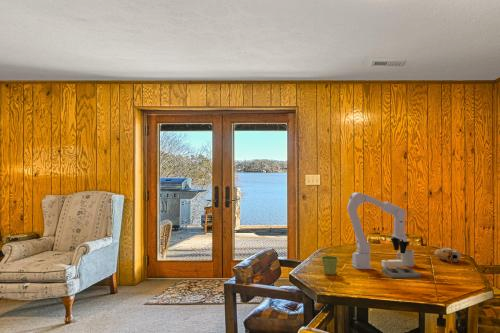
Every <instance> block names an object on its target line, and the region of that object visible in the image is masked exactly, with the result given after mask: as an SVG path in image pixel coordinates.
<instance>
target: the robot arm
mask: <svg viewBox="0 0 500 333" xmlns="http://www.w3.org/2000/svg"><path fill="white" fill-rule="evenodd" d="M391 202H392V201H384V202H383V201H380V200H378V199H377V198H374V197H373V196H371V195H368V194H364V193H362V192H358V191H355V192H353V193H351V195H350V196H349V201H348V204H347V207H346V208H347V209H346V210H347V213H348V215H349V219H350V222H351V225H352V228H353V231H354V234H355V240H356V242H355V243H356V244H355V246H356V247H357V249H356V251H355V252H353V253H352V264H351V265H352V267H353V268H354V269H356V270H373V269H374V268H373V267H372V266H371V265H370V264H371V252H370V251H371V245H370V243H369V242H368V240H367V238H366V236H365V233H364V229H363V226H362V223H361V220H360V217H359V215H358V211H357V210H358V208H359V207H360V206H361V205H362V204H363V203H370V204H372V205H375V206H377V207H380V209H381V211H383V212H385V213H387V214H389V215H392V216H393V217H394V218H393V219H394V220H393V233H392V234H391V237H390V240H391V242H392V246H393V250H394V251H400V252H401V253H405V251H406V249H407V247H408V245H409V244H410V242H409V241H408V237H407V235H406V231H405V230H406V224H405V223H406V220H405V218H406V216H407V212H406V210H405V209H404V208H401V207H399V205H396V204H392V203H391Z"/></svg>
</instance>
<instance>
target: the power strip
mask: <svg viewBox="0 0 500 333" xmlns="http://www.w3.org/2000/svg"><path fill="white" fill-rule="evenodd" d="M381 267H383V269H390V268H403V267H404V266H403V261H402V260H401V259H400V260H397V259H381Z"/></svg>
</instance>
